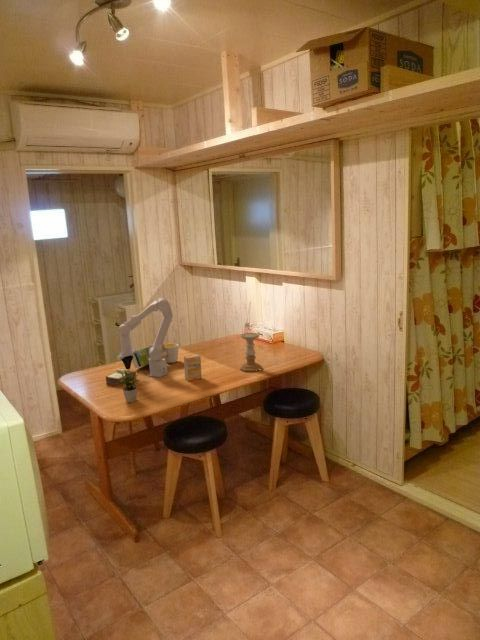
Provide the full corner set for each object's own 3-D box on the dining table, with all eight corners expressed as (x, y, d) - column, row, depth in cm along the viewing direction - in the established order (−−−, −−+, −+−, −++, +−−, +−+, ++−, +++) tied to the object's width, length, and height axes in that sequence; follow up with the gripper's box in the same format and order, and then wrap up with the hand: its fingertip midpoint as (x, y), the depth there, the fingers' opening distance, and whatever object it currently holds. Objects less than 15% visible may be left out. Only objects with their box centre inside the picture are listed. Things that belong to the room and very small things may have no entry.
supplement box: (188, 381, 258) (186, 358, 255) (184, 379, 262) (183, 356, 259) (202, 378, 262) (200, 355, 259) (198, 376, 266) (197, 353, 263)
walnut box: (121, 376, 270) (121, 369, 269) (136, 378, 266) (135, 371, 265) (106, 384, 259) (105, 376, 258) (121, 386, 255) (120, 378, 254)
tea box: (135, 369, 281) (153, 363, 273) (129, 353, 281) (146, 346, 273) (151, 362, 294) (168, 356, 286) (145, 347, 294) (162, 340, 286)
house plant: (107, 404, 232) (104, 372, 228) (124, 393, 244) (121, 363, 241) (132, 407, 227) (129, 374, 223) (148, 396, 239) (145, 365, 236)
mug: (182, 361, 291) (181, 345, 289) (168, 365, 286) (166, 348, 284) (172, 357, 302) (171, 341, 300) (157, 360, 296) (156, 344, 294)
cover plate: (122, 370, 269) (122, 366, 268) (133, 371, 265) (133, 368, 265) (107, 377, 258) (107, 373, 257) (118, 379, 254) (118, 375, 254)
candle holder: (242, 365, 282) (241, 332, 277) (263, 365, 279) (262, 332, 275) (238, 371, 270) (237, 337, 265) (259, 372, 268) (258, 338, 263)
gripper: (128, 341, 272) (130, 364, 275) (111, 348, 259) (113, 372, 262) (138, 342, 269) (140, 365, 272) (121, 349, 256) (124, 373, 259)
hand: (128, 368), depth 267 cm, fingers closed
